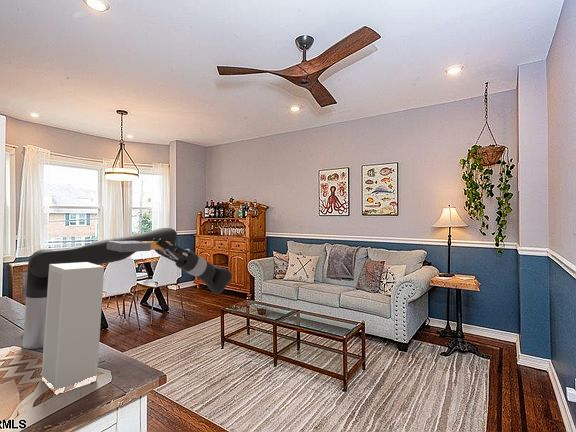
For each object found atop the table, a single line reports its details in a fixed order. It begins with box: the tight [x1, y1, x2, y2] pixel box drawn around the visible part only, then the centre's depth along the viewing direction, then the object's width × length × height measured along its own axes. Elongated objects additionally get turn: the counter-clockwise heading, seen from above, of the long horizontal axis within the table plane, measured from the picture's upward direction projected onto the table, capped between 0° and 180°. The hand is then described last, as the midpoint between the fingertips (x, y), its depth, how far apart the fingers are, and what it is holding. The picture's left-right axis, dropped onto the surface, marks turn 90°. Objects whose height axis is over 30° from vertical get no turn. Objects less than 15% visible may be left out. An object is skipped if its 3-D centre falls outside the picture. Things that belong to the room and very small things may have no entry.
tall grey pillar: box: [41, 262, 105, 390], centre depth 87 cm, size 12×10×32 cm
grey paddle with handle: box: [107, 241, 170, 253], centre depth 103 cm, size 10×18×2 cm, turn 143°
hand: (155, 240), depth 106 cm, fingers closed on grey paddle with handle, 3 cm apart
